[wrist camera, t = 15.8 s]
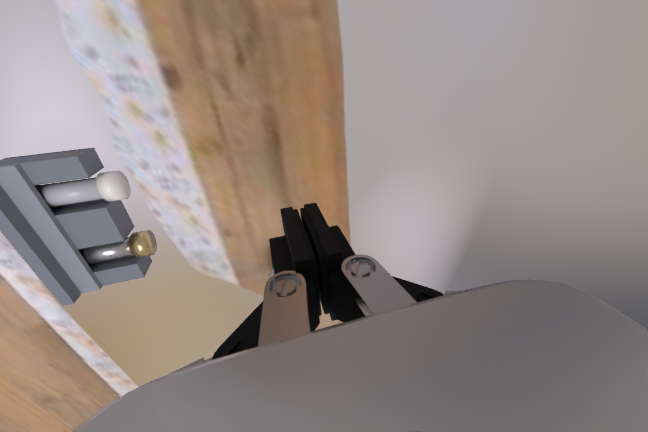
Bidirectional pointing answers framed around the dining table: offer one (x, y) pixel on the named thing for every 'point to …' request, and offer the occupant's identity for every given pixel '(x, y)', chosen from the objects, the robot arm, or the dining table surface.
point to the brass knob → (122, 248)
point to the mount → (63, 224)
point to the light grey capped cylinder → (86, 189)
